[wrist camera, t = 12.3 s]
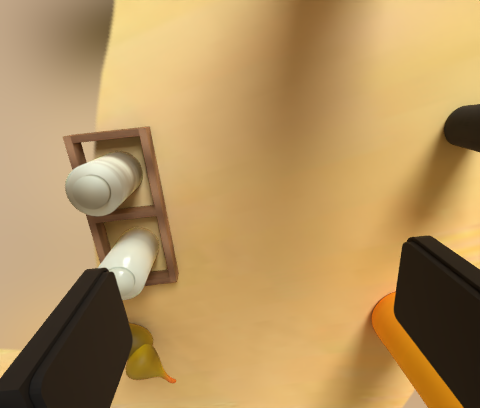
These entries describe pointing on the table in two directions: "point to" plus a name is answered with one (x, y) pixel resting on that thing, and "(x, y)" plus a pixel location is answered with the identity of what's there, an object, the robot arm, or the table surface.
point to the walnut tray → (117, 192)
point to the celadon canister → (132, 260)
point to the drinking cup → (464, 127)
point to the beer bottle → (411, 357)
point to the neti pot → (144, 357)
